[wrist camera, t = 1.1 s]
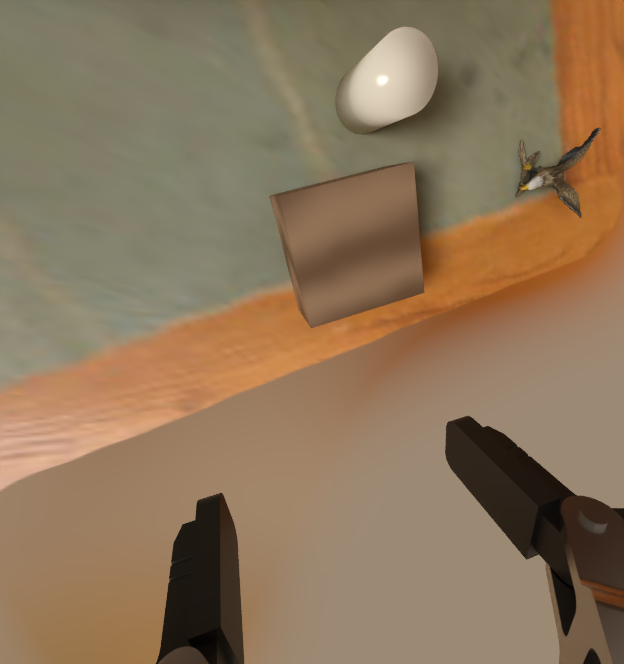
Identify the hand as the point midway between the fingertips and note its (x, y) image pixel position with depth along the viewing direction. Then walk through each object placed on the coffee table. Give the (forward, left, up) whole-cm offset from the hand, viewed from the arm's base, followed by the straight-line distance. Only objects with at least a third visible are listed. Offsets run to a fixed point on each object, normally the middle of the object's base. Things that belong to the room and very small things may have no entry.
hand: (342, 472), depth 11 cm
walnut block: (-3, +9, -26) cm, 28 cm away
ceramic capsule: (-15, +13, -26) cm, 33 cm away
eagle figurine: (-5, +32, -26) cm, 41 cm away
